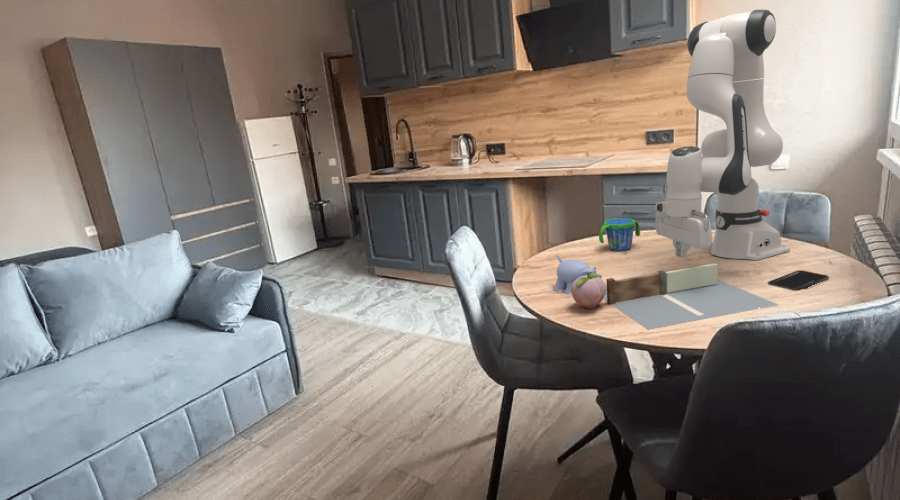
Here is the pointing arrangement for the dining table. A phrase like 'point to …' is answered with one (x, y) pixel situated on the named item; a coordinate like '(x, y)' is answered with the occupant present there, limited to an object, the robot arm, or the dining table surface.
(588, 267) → the hippopotamus toy
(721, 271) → the dining table surface
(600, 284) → the decorative fruit
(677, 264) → the dining table surface
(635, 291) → the fence fixed
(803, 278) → the phone
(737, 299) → the board
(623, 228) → the snack cup
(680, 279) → the fence gate
